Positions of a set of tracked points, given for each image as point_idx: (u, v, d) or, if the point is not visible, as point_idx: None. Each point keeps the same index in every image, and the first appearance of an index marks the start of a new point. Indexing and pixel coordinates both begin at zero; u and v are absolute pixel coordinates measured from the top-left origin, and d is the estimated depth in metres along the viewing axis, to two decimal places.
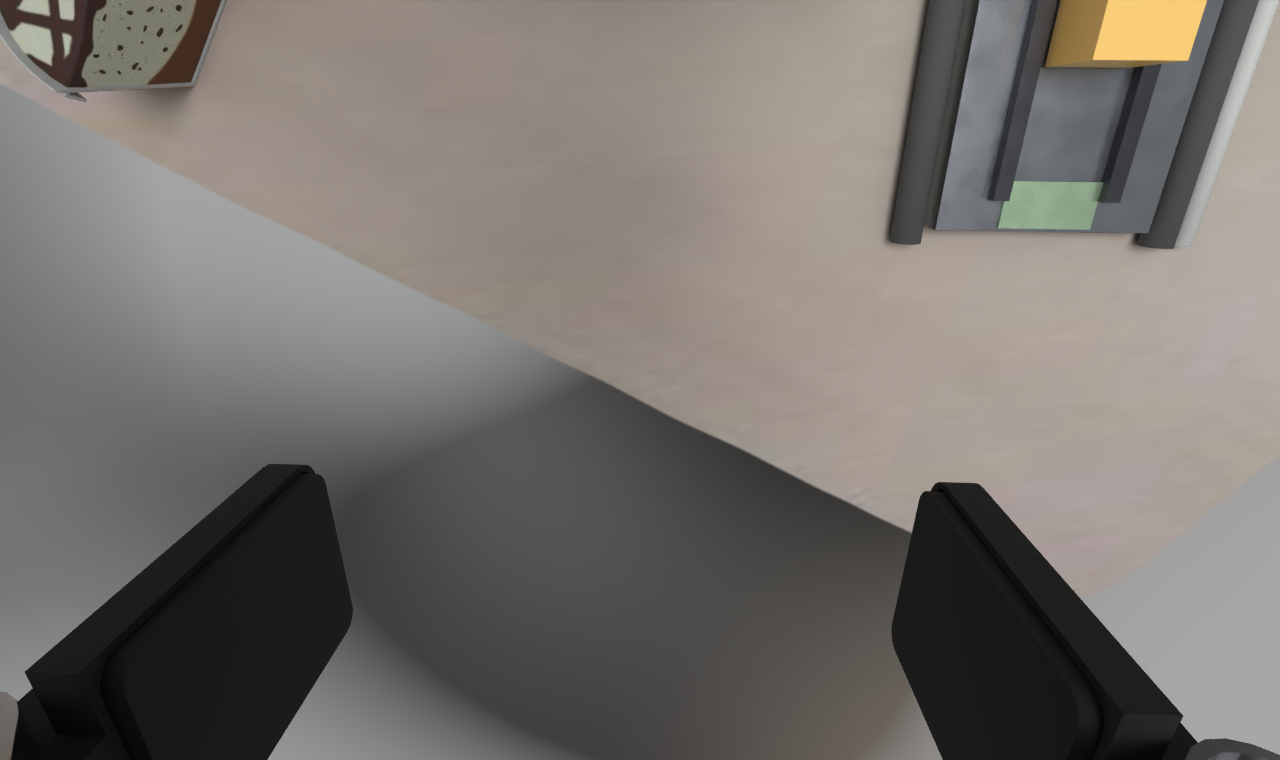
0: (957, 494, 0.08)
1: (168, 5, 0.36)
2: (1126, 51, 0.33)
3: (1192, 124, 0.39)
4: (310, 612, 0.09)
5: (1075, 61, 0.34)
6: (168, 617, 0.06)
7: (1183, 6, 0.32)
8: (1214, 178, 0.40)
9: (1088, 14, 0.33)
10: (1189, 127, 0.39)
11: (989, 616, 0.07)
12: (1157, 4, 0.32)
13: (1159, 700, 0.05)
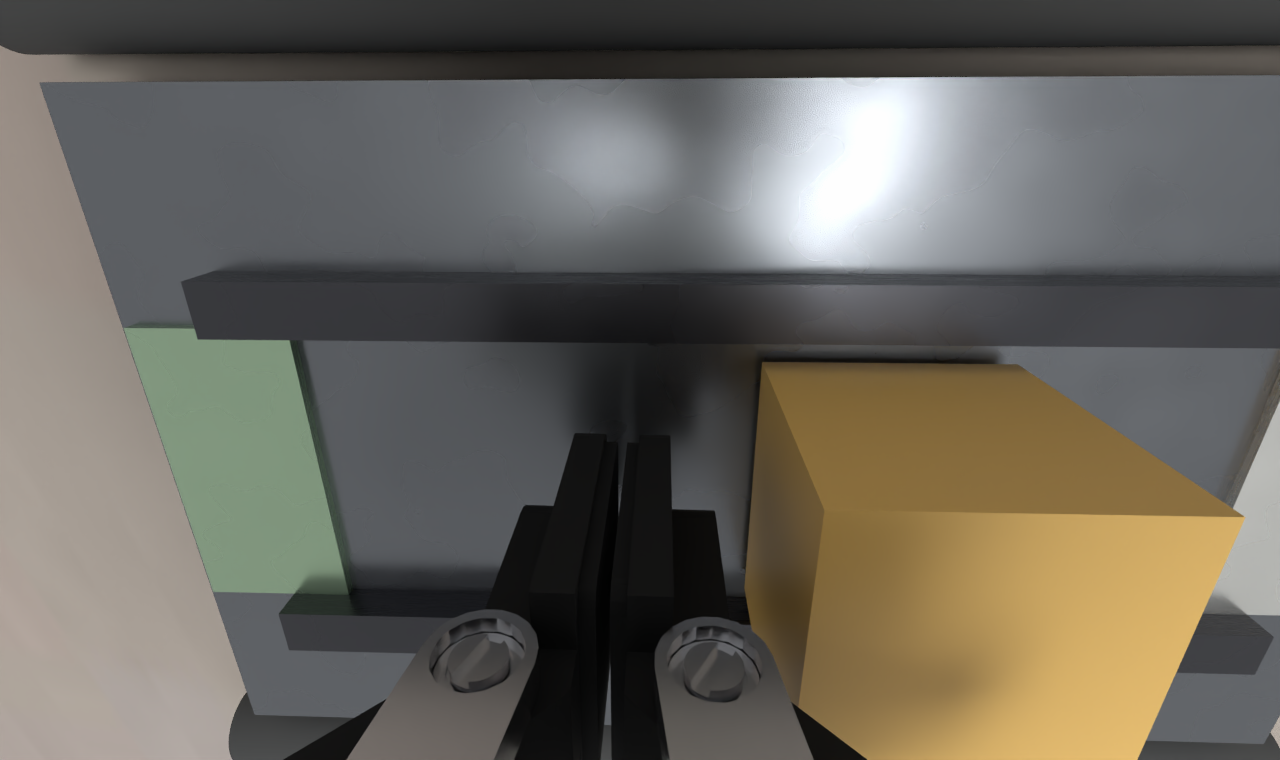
0: (644, 443, 0.10)
1: None
2: (843, 627, 0.07)
3: None
4: None
5: (800, 443, 0.08)
6: (594, 554, 0.07)
7: None
8: None
9: (981, 450, 0.08)
10: None
11: None
12: (1012, 690, 0.08)
13: (664, 587, 0.07)
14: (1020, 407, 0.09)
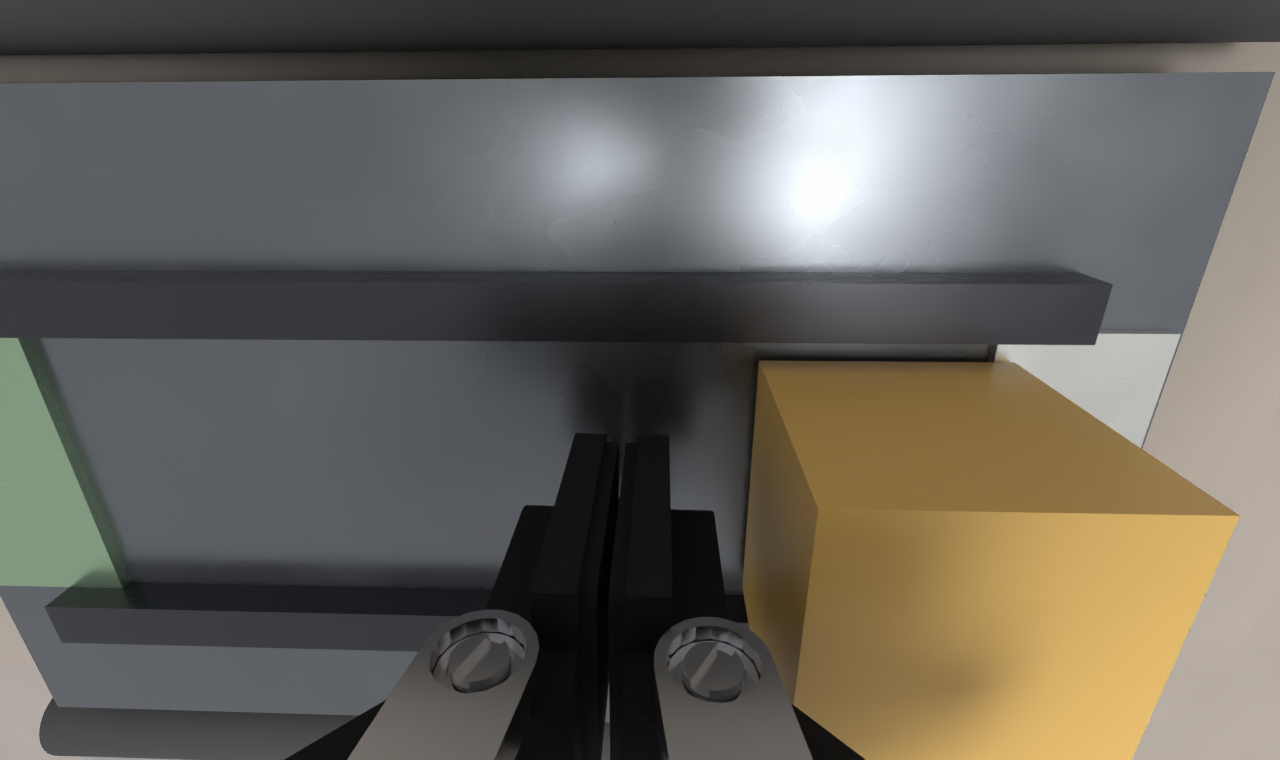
0: (642, 443, 0.10)
1: None
2: (837, 625, 0.07)
3: (332, 726, 0.16)
4: None
5: (795, 442, 0.08)
6: (595, 554, 0.07)
7: None
8: None
9: (976, 449, 0.08)
10: (328, 720, 0.16)
11: None
12: (1008, 690, 0.08)
13: (662, 587, 0.07)
14: (1016, 406, 0.09)
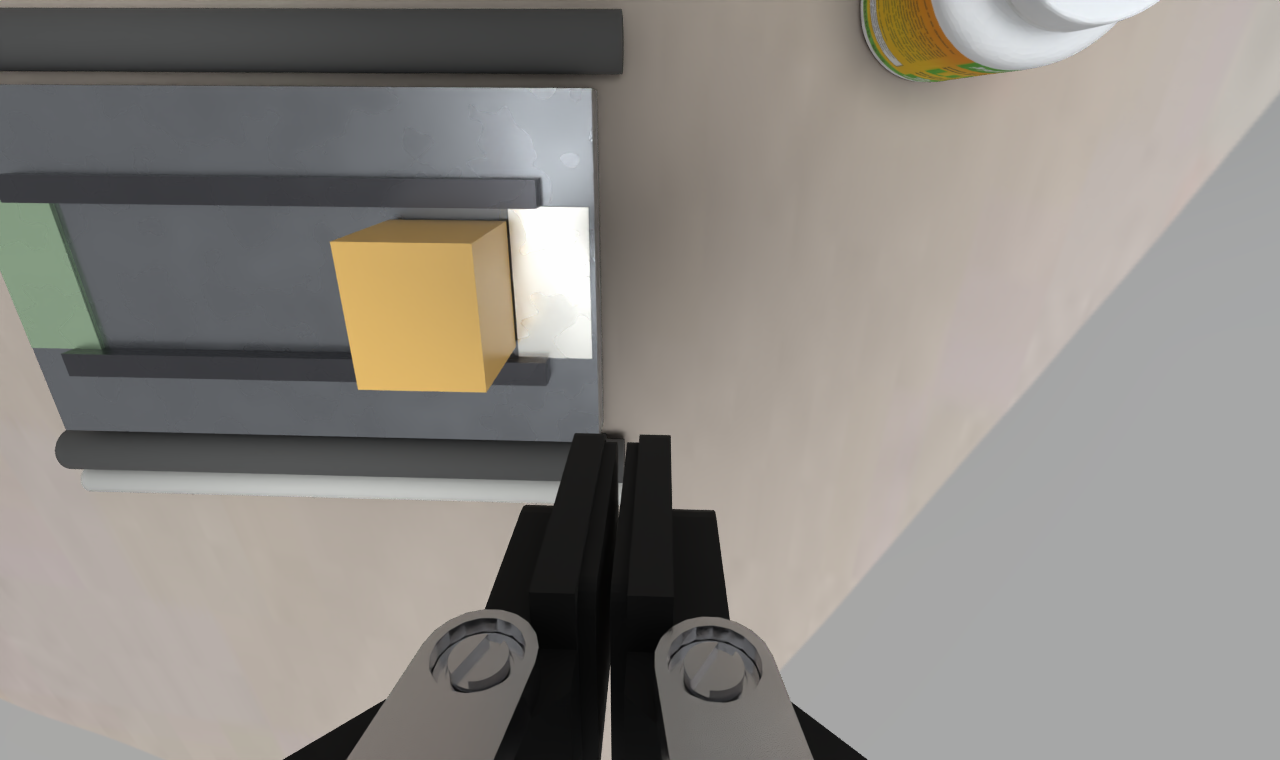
0: (644, 443, 0.10)
1: None
2: (352, 293, 0.20)
3: (220, 445, 0.28)
4: None
5: (354, 233, 0.20)
6: (594, 554, 0.07)
7: (426, 361, 0.20)
8: (175, 491, 0.29)
9: (420, 234, 0.20)
10: (218, 443, 0.28)
11: None
12: (423, 323, 0.20)
13: (664, 588, 0.07)
14: (468, 228, 0.21)
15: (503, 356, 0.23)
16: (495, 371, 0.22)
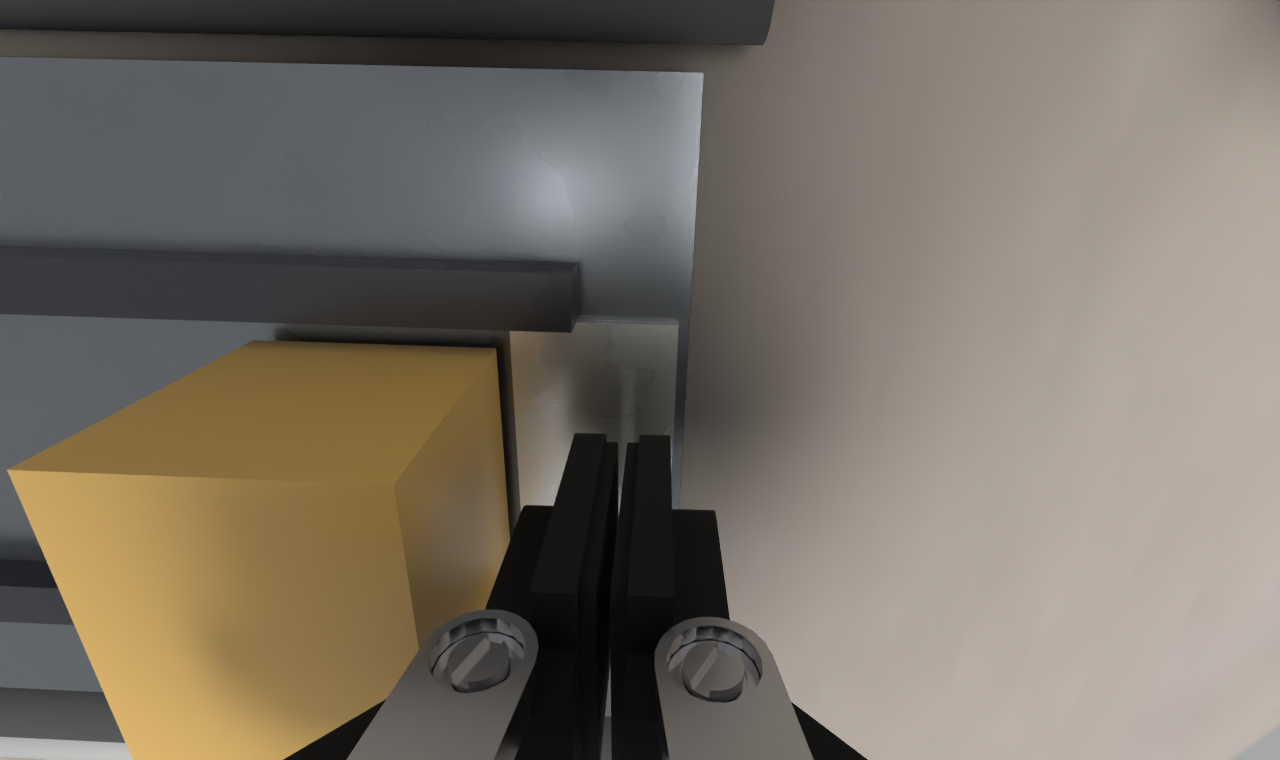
0: (644, 443, 0.10)
1: None
2: (88, 586, 0.08)
3: None
4: None
5: (122, 412, 0.08)
6: (594, 554, 0.07)
7: (293, 725, 0.08)
8: None
9: (279, 422, 0.08)
10: None
11: None
12: (278, 651, 0.08)
13: (664, 587, 0.07)
14: (407, 385, 0.09)
15: None
16: None
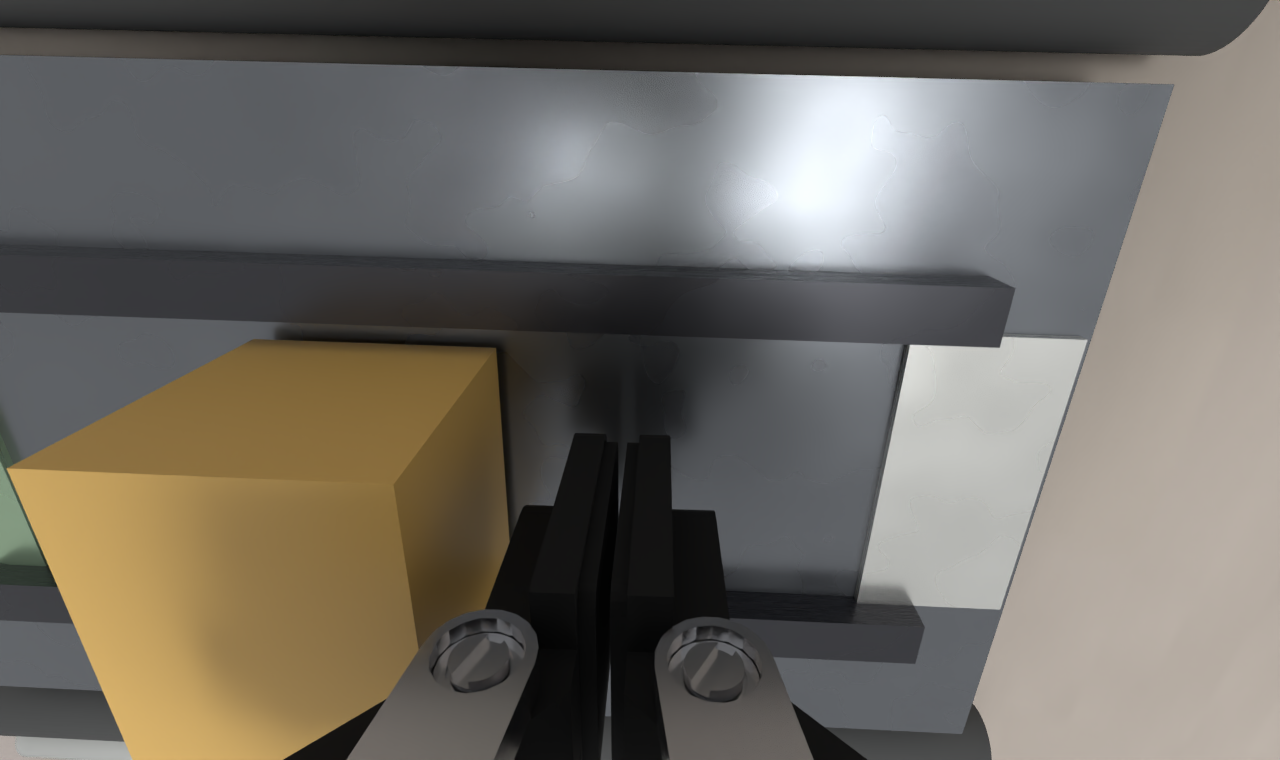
0: (644, 443, 0.10)
1: None
2: (88, 585, 0.08)
3: None
4: None
5: (122, 410, 0.08)
6: (594, 554, 0.07)
7: (292, 723, 0.08)
8: None
9: (279, 421, 0.08)
10: None
11: None
12: (277, 650, 0.08)
13: (664, 587, 0.07)
14: (407, 385, 0.09)
15: None
16: None
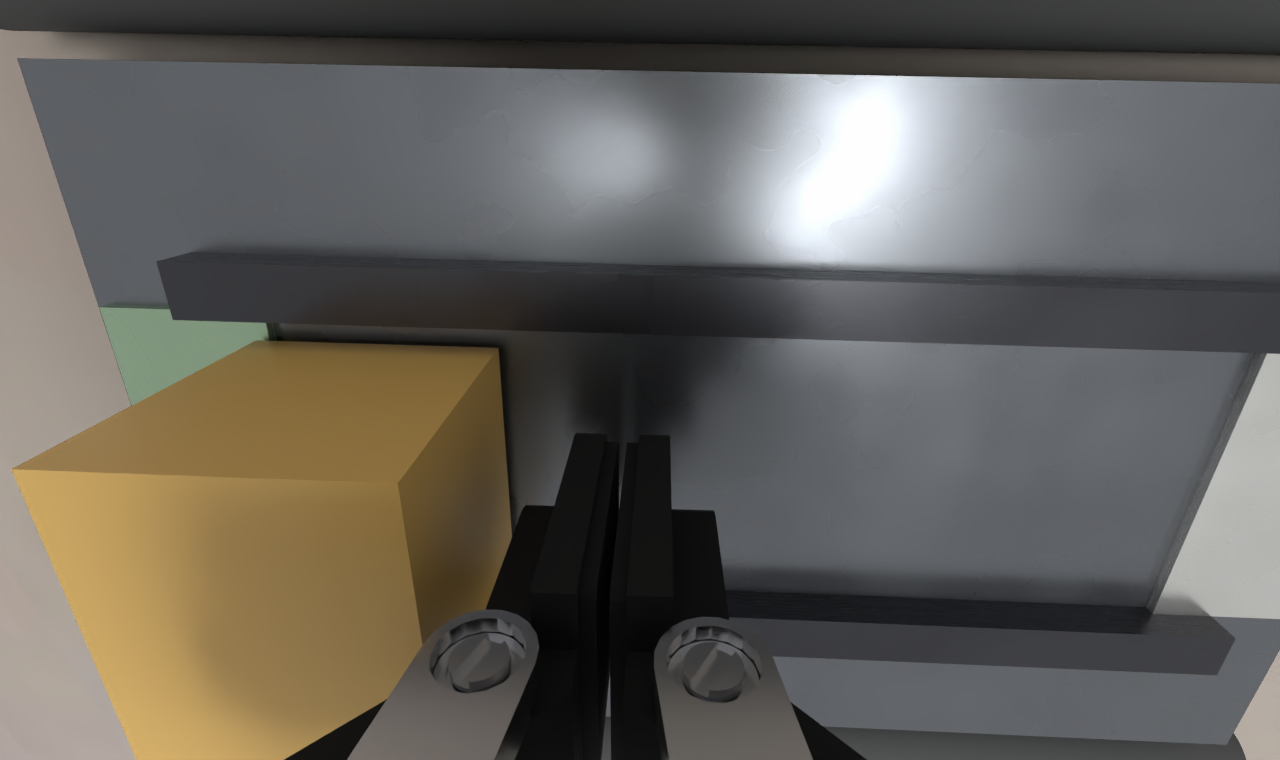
0: (644, 443, 0.10)
1: None
2: (93, 585, 0.08)
3: None
4: None
5: (125, 411, 0.08)
6: (595, 554, 0.07)
7: (296, 724, 0.08)
8: None
9: (282, 422, 0.08)
10: None
11: None
12: (282, 651, 0.08)
13: (664, 587, 0.07)
14: (409, 385, 0.09)
15: None
16: None
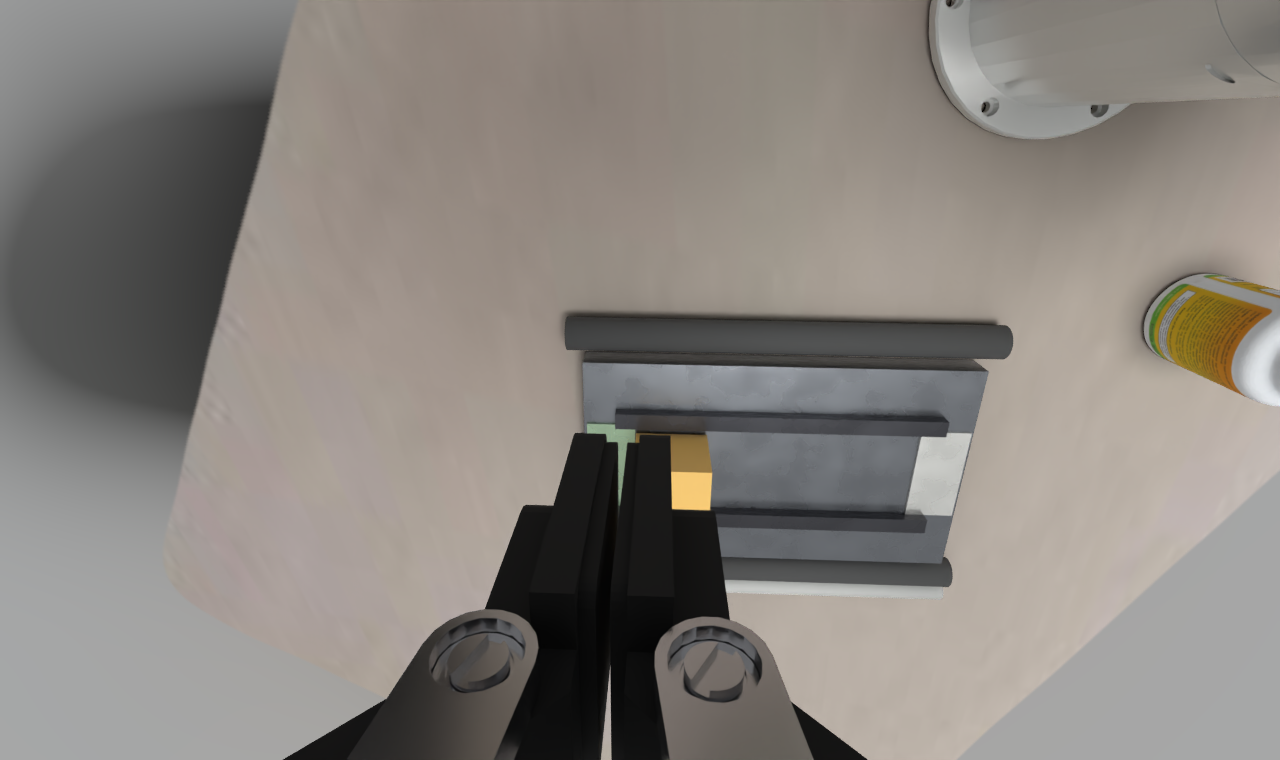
0: (644, 443, 0.10)
1: None
2: None
3: None
4: None
5: None
6: (594, 554, 0.07)
7: None
8: None
9: (674, 459, 0.35)
10: None
11: None
12: None
13: (665, 587, 0.07)
14: (693, 448, 0.36)
15: None
16: None
